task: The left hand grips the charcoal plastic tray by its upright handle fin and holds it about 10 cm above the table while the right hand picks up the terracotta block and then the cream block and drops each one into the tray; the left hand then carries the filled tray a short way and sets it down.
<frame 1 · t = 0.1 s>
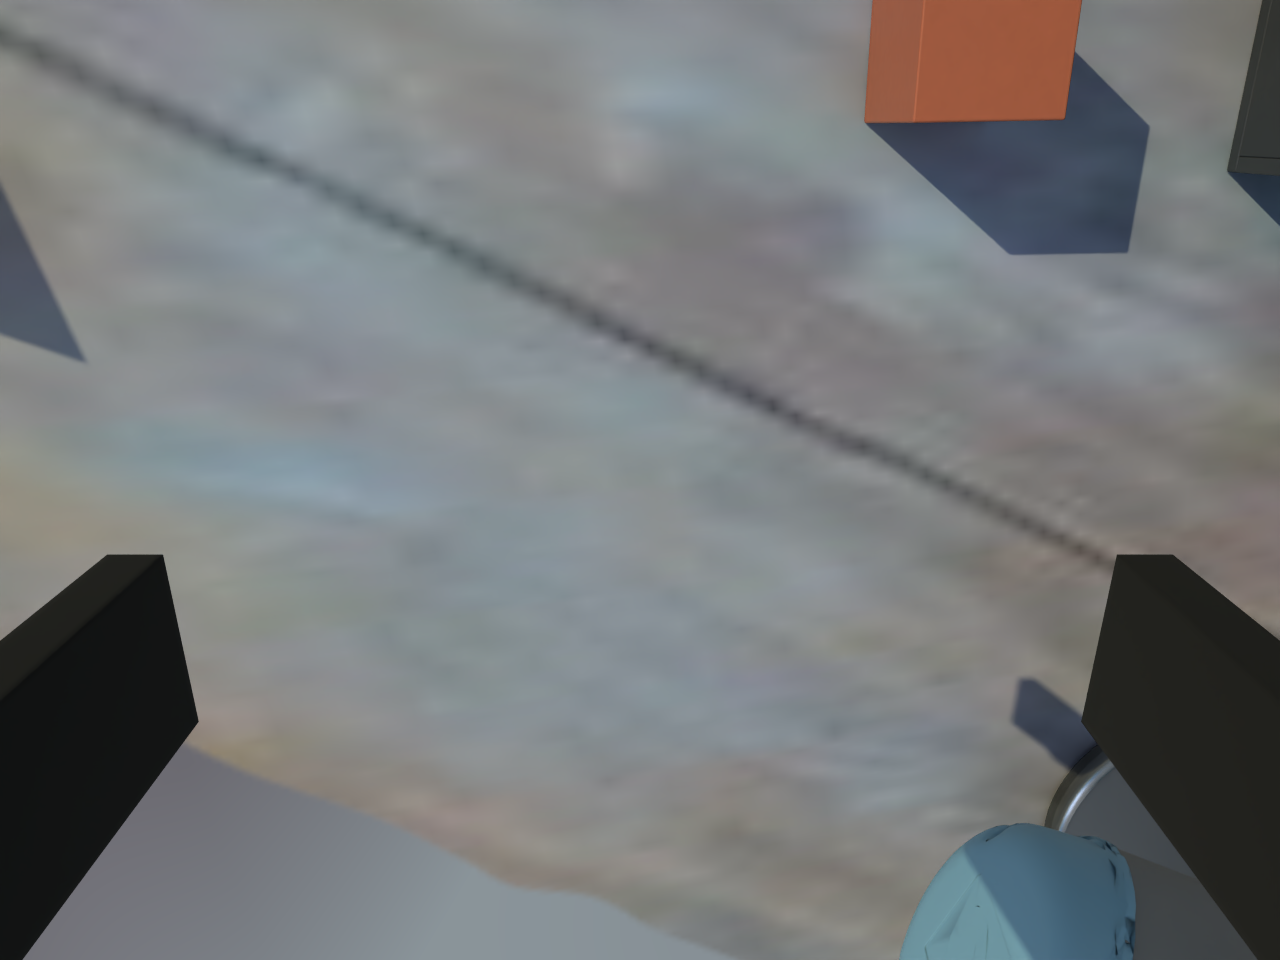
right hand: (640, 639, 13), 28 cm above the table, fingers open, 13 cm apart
terracotta block: (932, 53, 35), on the table
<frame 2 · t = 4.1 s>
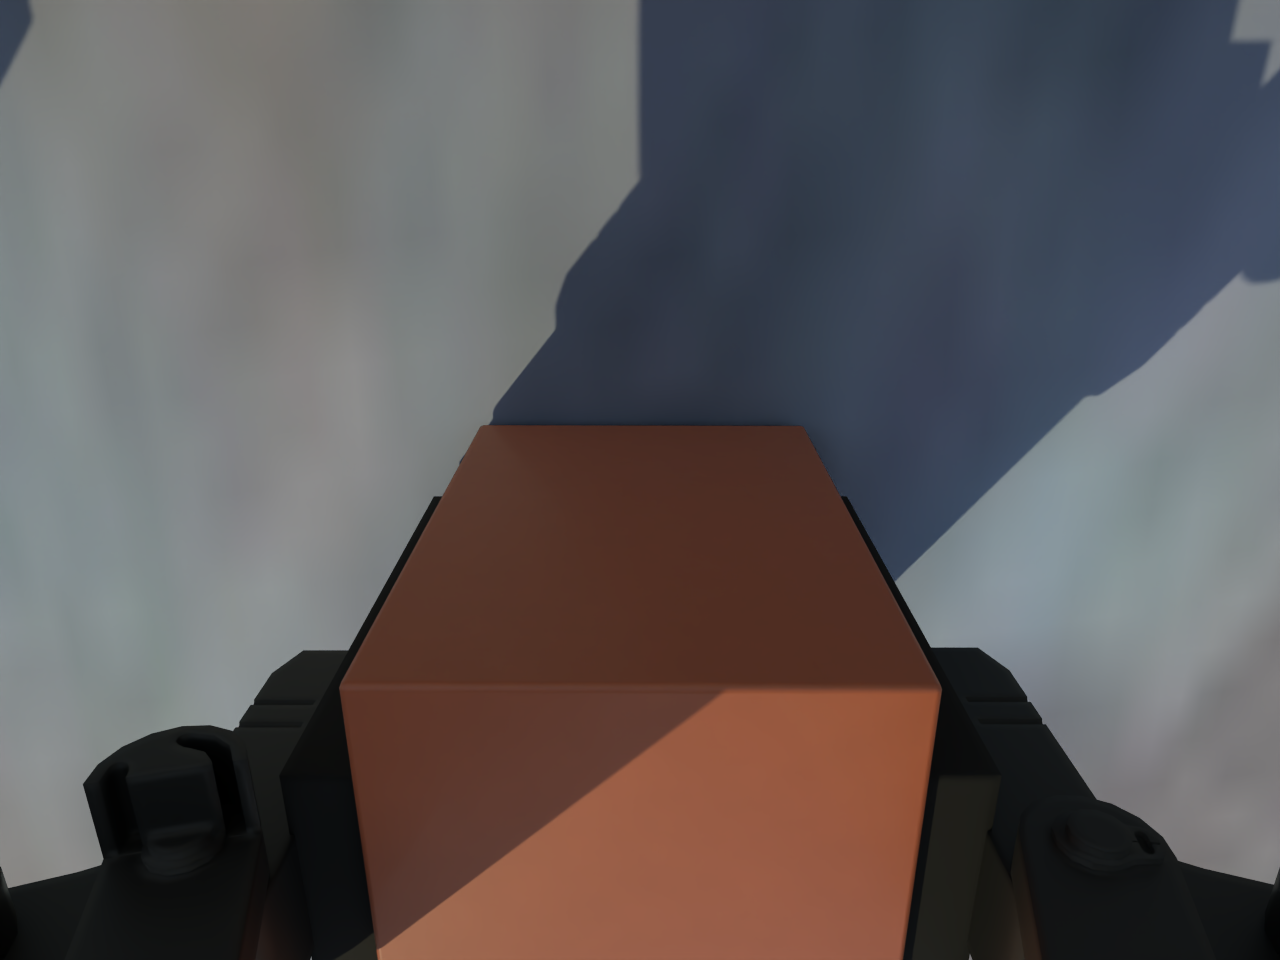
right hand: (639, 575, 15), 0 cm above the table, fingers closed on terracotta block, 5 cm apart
terracotta block: (641, 569, 15), on the table, touching right hand
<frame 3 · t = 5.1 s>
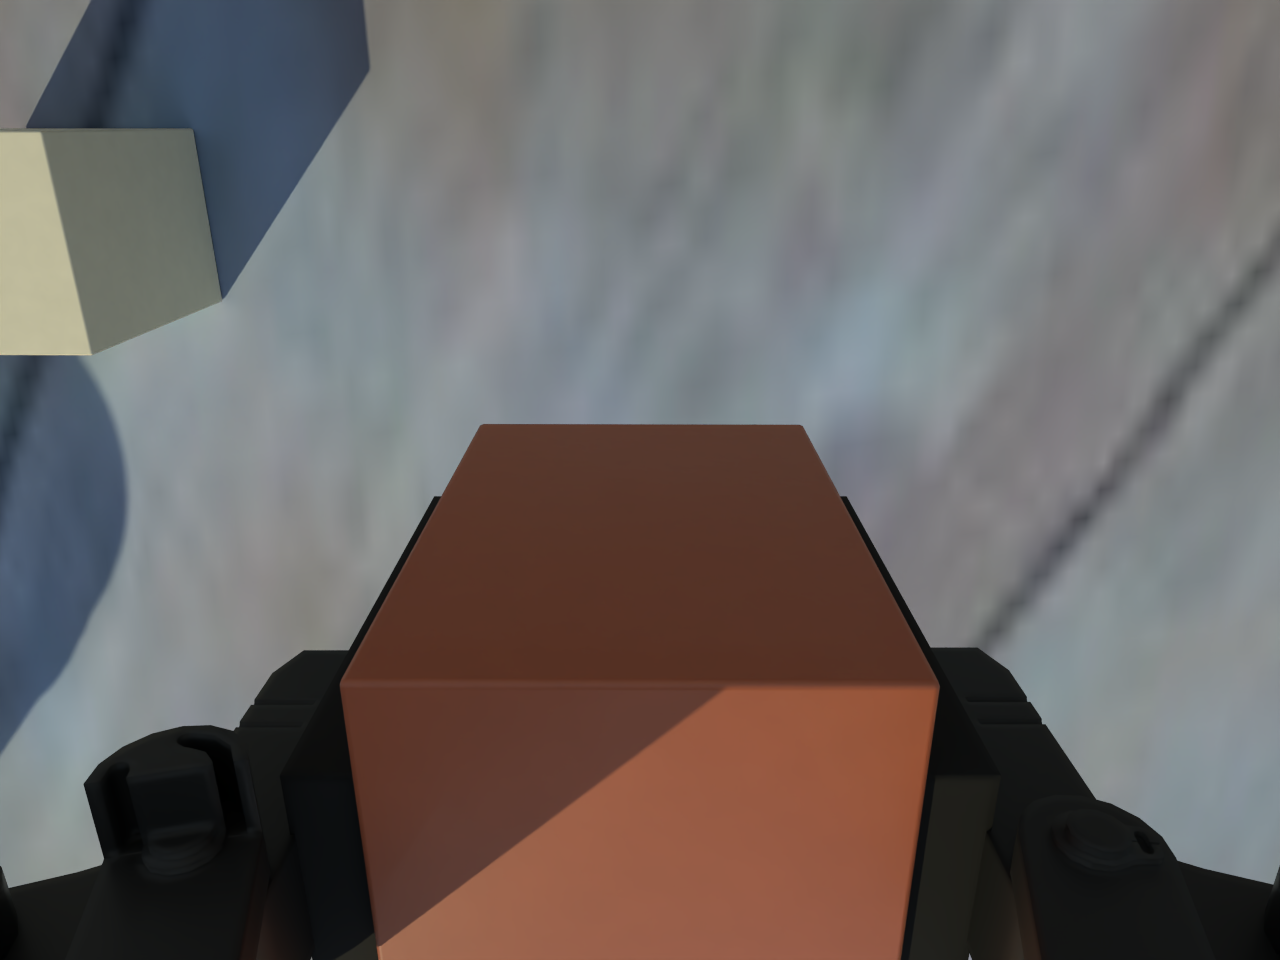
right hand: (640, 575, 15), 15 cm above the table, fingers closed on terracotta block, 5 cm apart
cream block: (126, 217, 27), on the table
terracotta block: (641, 568, 15), point 15 cm above the table, touching right hand
when the right hand's fingers open (14 cm above the table, at t = 9.2 s): terracotta block drops 4 cm, resting on tray.
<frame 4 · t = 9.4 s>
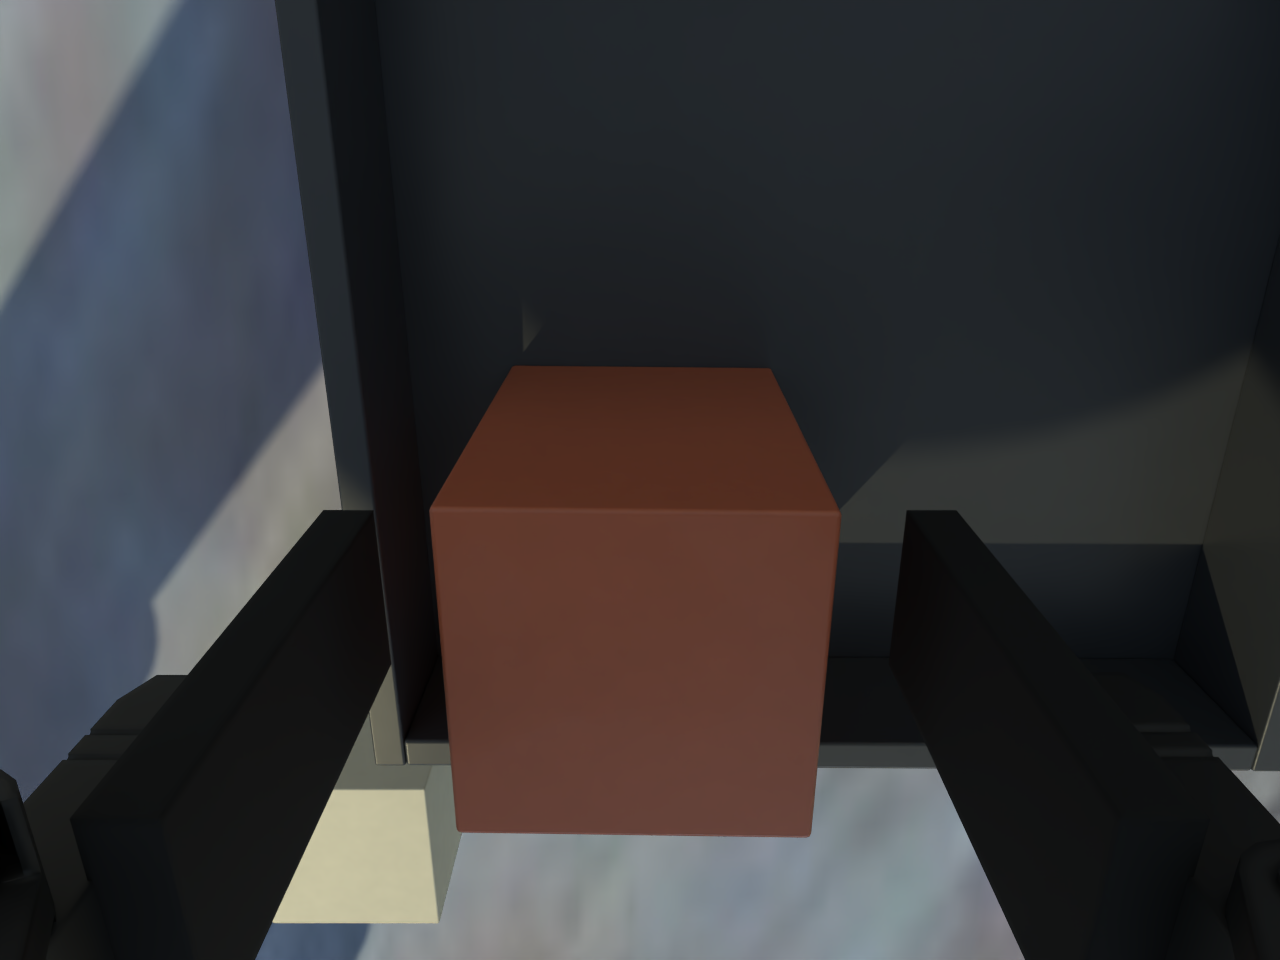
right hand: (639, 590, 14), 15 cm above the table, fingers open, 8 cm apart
cream block: (404, 712, 33), on the table
tray: (826, 280, 17), point 10 cm above the table, touching left hand, terracotta block
terracotta block: (640, 486, 18), point 10 cm above the table, touching tray
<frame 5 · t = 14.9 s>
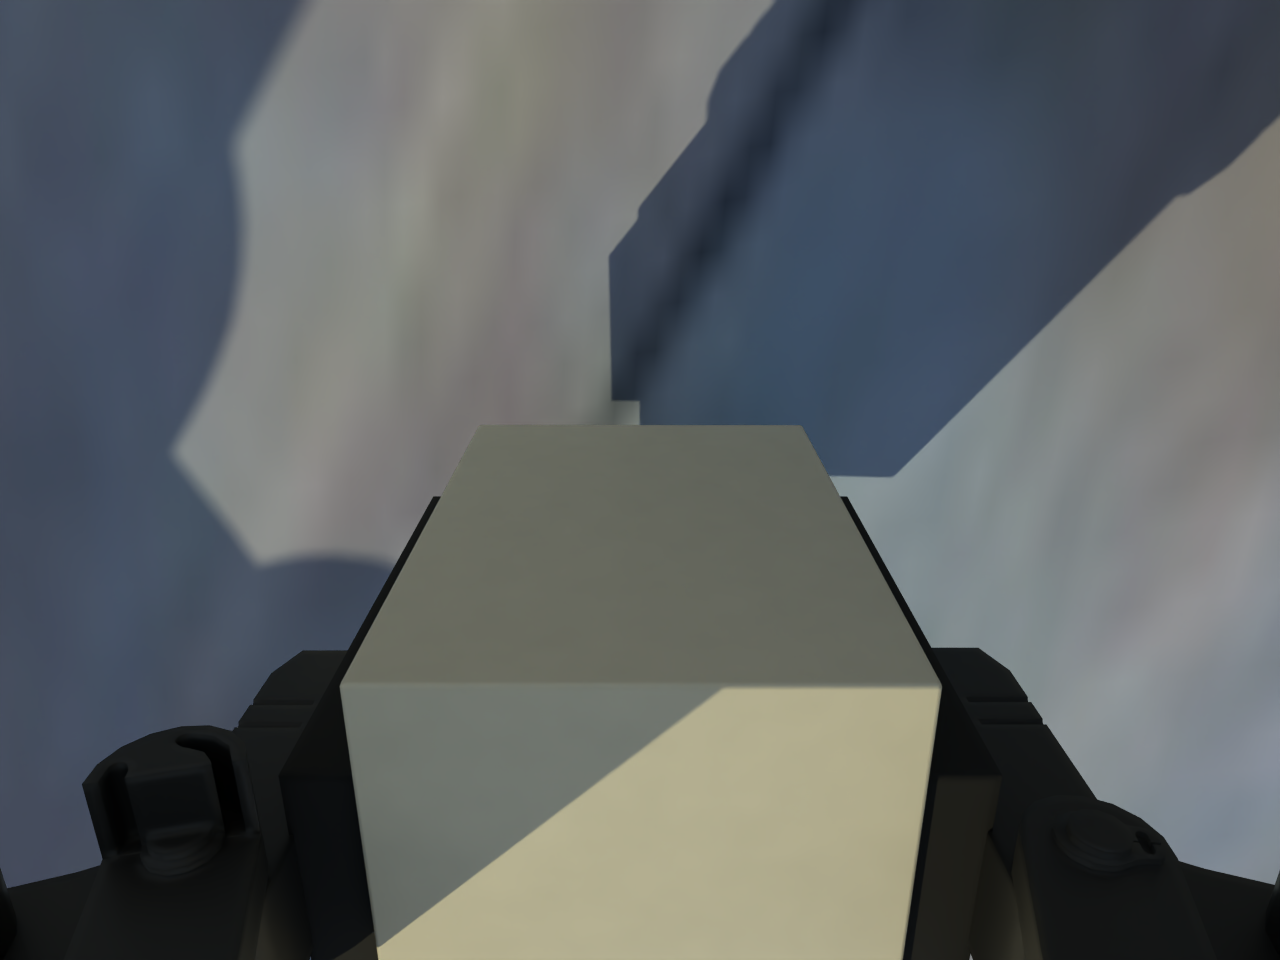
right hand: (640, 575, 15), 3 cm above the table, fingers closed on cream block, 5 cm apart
cream block: (640, 569, 15), point 3 cm above the table, touching right hand
when the right hand's fingers open (14 cm above the table, at t = 19.5 s): cream block drops 4 cm, resting on tray.
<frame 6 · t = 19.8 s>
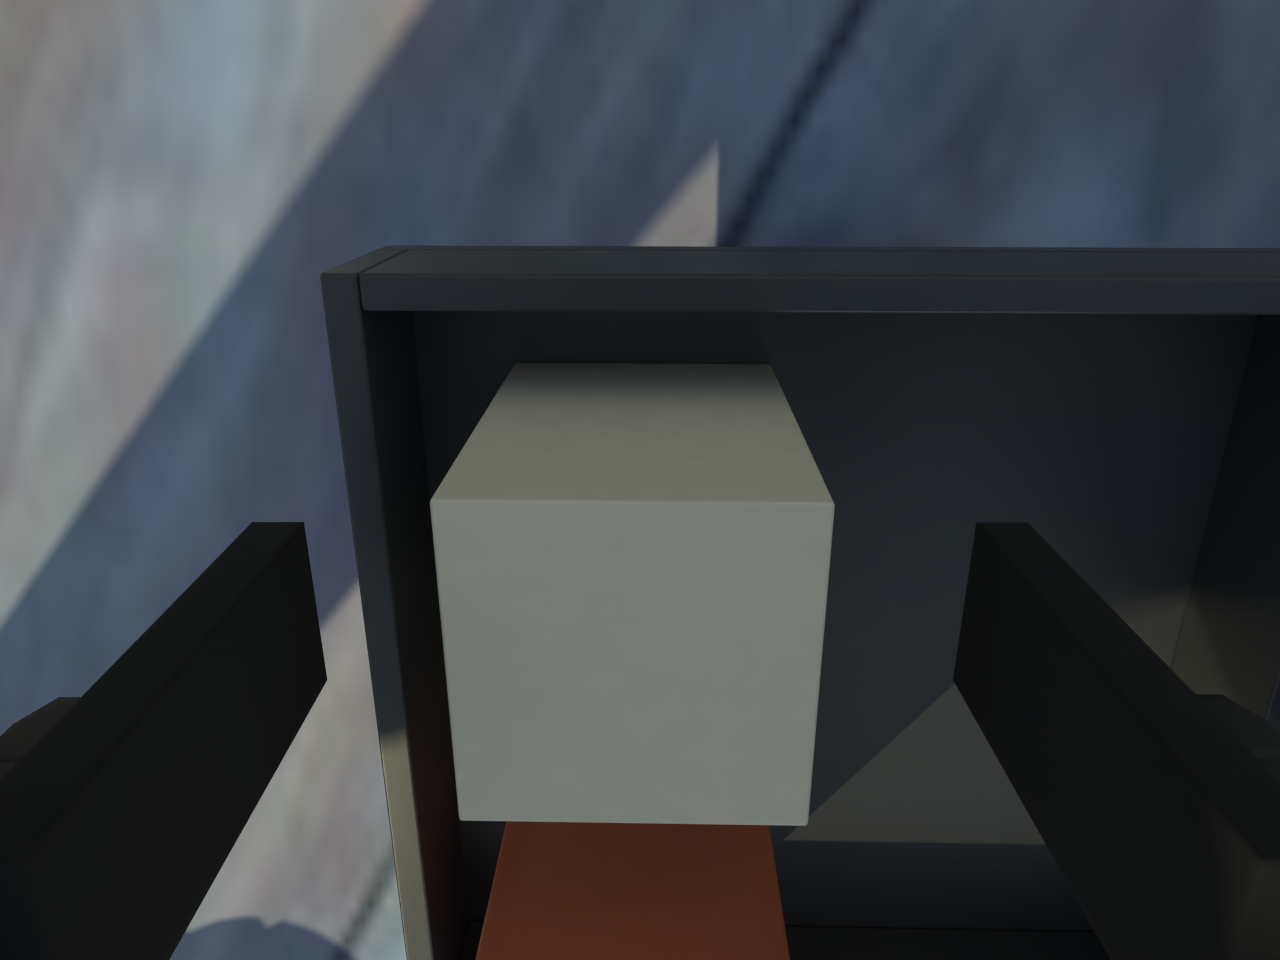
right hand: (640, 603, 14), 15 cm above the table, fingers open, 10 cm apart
cream block: (642, 482, 19), point 10 cm above the table, touching tray
tray: (801, 636, 20), point 10 cm above the table, touching cream block, left hand, terracotta block
terracotta block: (640, 795, 21), point 10 cm above the table, touching tray
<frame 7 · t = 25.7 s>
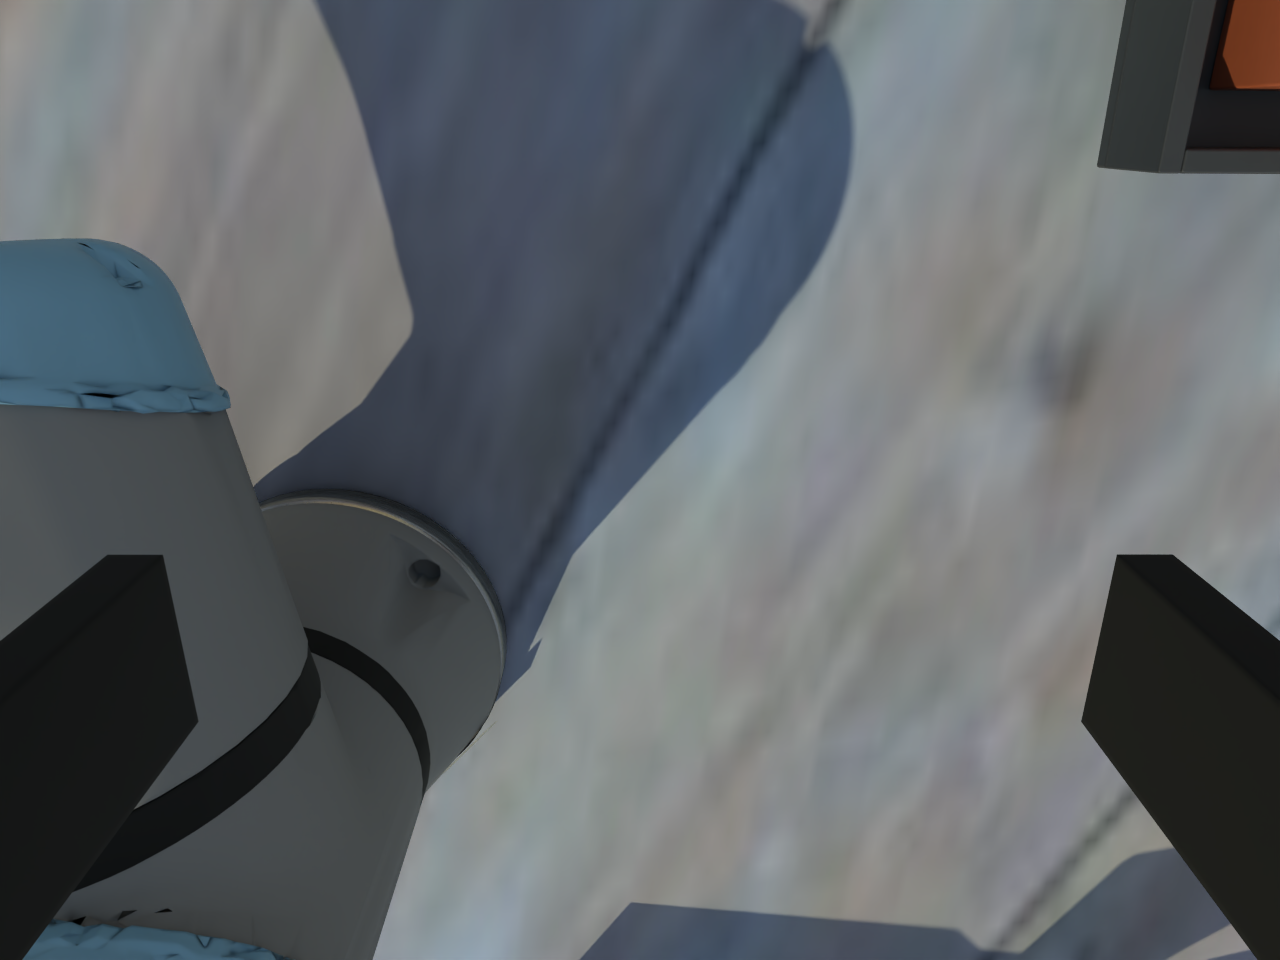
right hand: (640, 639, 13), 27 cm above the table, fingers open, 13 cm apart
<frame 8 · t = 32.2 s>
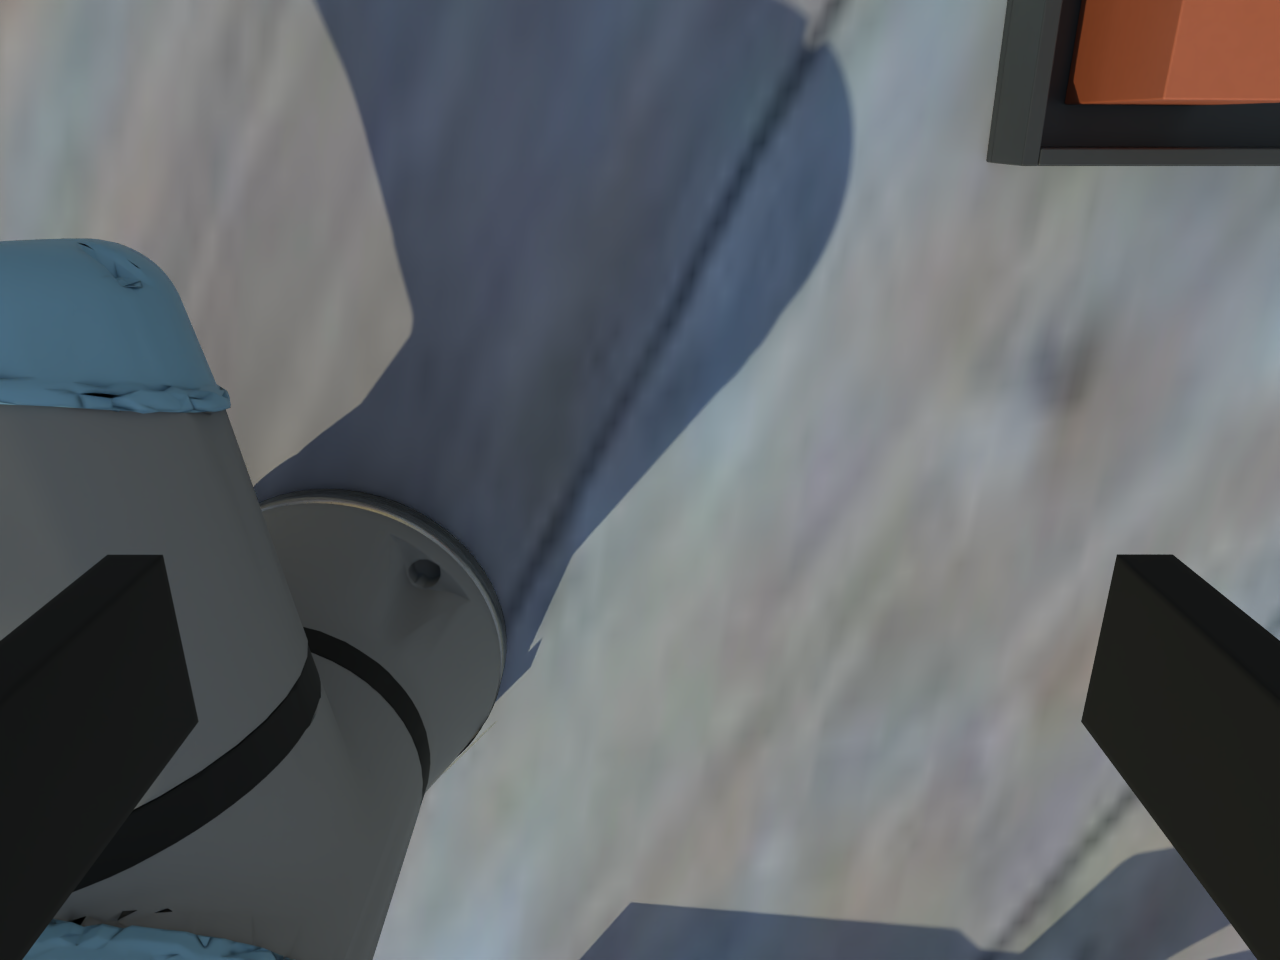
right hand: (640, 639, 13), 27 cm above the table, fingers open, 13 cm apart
terracotta block: (1143, 31, 33), point 1 cm above the table, touching tray
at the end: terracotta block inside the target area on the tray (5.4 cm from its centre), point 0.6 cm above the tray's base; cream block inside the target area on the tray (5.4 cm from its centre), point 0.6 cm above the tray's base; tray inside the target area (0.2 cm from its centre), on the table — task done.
